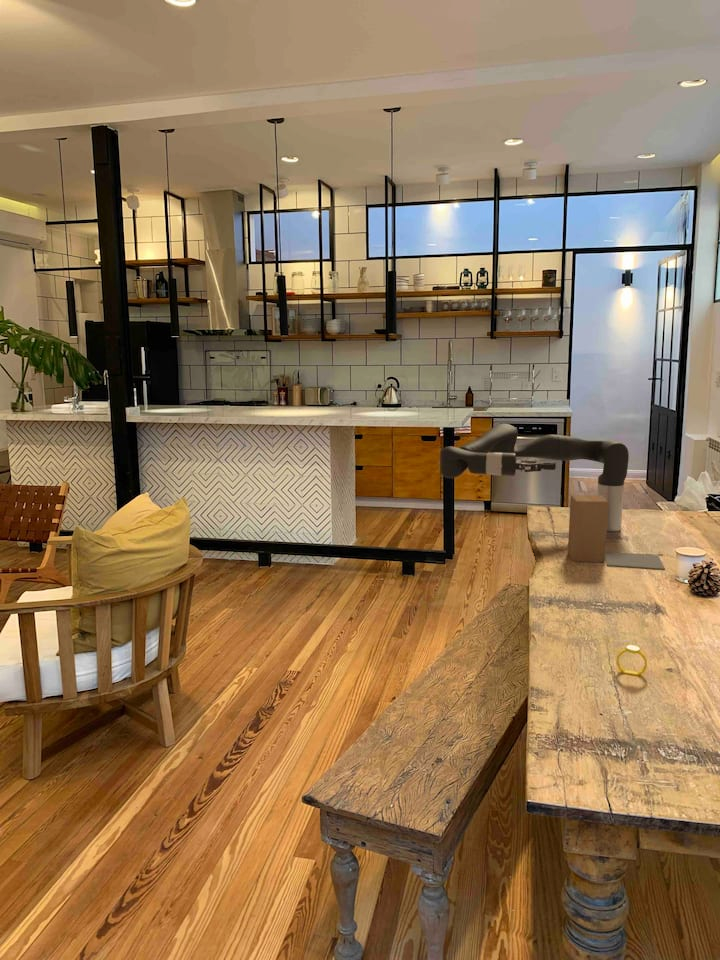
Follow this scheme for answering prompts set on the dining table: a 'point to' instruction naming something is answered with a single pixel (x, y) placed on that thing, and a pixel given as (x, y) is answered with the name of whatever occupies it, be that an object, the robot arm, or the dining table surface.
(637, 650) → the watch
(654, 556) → the charcoal mat
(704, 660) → the dining table surface
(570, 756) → the dining table surface
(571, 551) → the wooden block
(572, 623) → the dining table surface
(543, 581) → the dining table surface
